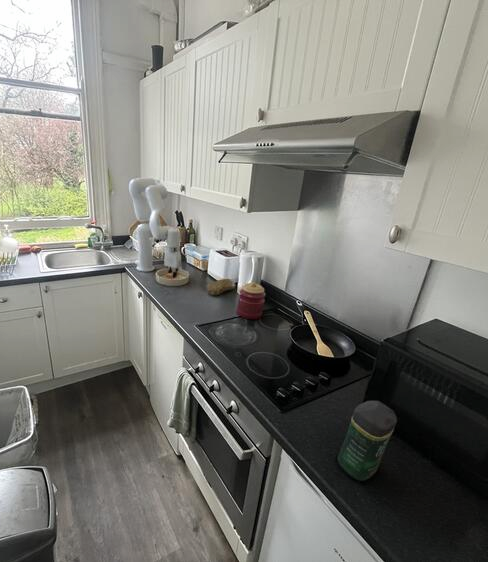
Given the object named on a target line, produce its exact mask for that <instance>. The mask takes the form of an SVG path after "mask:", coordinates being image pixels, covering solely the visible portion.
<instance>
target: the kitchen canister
mask: <svg viewBox="0 0 488 562" xmlns="http://www.w3.org/2000/svg"><path fill="white" fill-rule="evenodd" d="M238 292H239V296H238V302H237V308H236V311H237V315H239V316H240V317H241V318H243V319H247V320H258V319H260V318H262V317H263V316H262V315H263V313H264V304H265V297H266V292H265V288H264V287H263V286H262V285H260V284H259V283H257V282H256V281H251V282H248V283H245V284H243V285H241V288H240V289H239V291H238Z"/></svg>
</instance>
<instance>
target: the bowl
mask: <svg viewBox="0 0 488 562" xmlns="http://www.w3.org/2000/svg"><path fill="white" fill-rule="evenodd" d="M171 270H172V271H174V268H172V269H171ZM178 271H179V275H178V276H177V277H175V278H173V279H166V274H168V269H167V267H166V268H161V269H159V270H157V271H156V272H155V281H156V282H157V284H160V285H162V286H167V287H180V286H181V287H182V286H184V285H186V284H188V283H189V282H190V272H189V271H187V270H184V269H183V268H182V269H180V270H178Z"/></svg>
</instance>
